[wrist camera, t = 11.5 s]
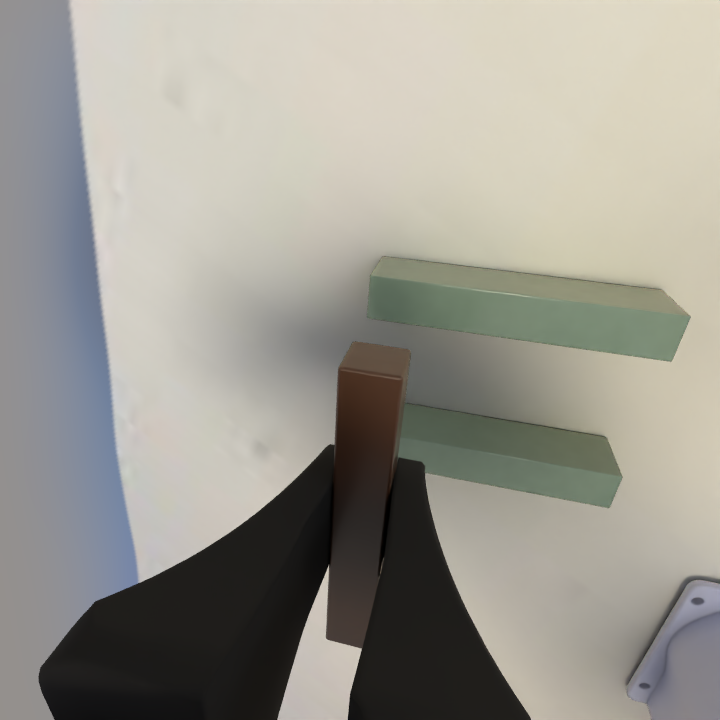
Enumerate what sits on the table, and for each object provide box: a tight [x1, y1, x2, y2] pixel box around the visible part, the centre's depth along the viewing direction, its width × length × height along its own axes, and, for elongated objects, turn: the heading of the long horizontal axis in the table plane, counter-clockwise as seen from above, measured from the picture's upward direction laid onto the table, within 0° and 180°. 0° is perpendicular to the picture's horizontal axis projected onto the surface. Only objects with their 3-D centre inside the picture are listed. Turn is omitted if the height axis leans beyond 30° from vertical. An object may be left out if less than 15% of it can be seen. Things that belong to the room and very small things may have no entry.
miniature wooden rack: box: [367, 256, 690, 508], centre depth 18 cm, size 8×10×2 cm
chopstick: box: [326, 341, 411, 648], centre depth 12 cm, size 9×1×1 cm, turn 176°
